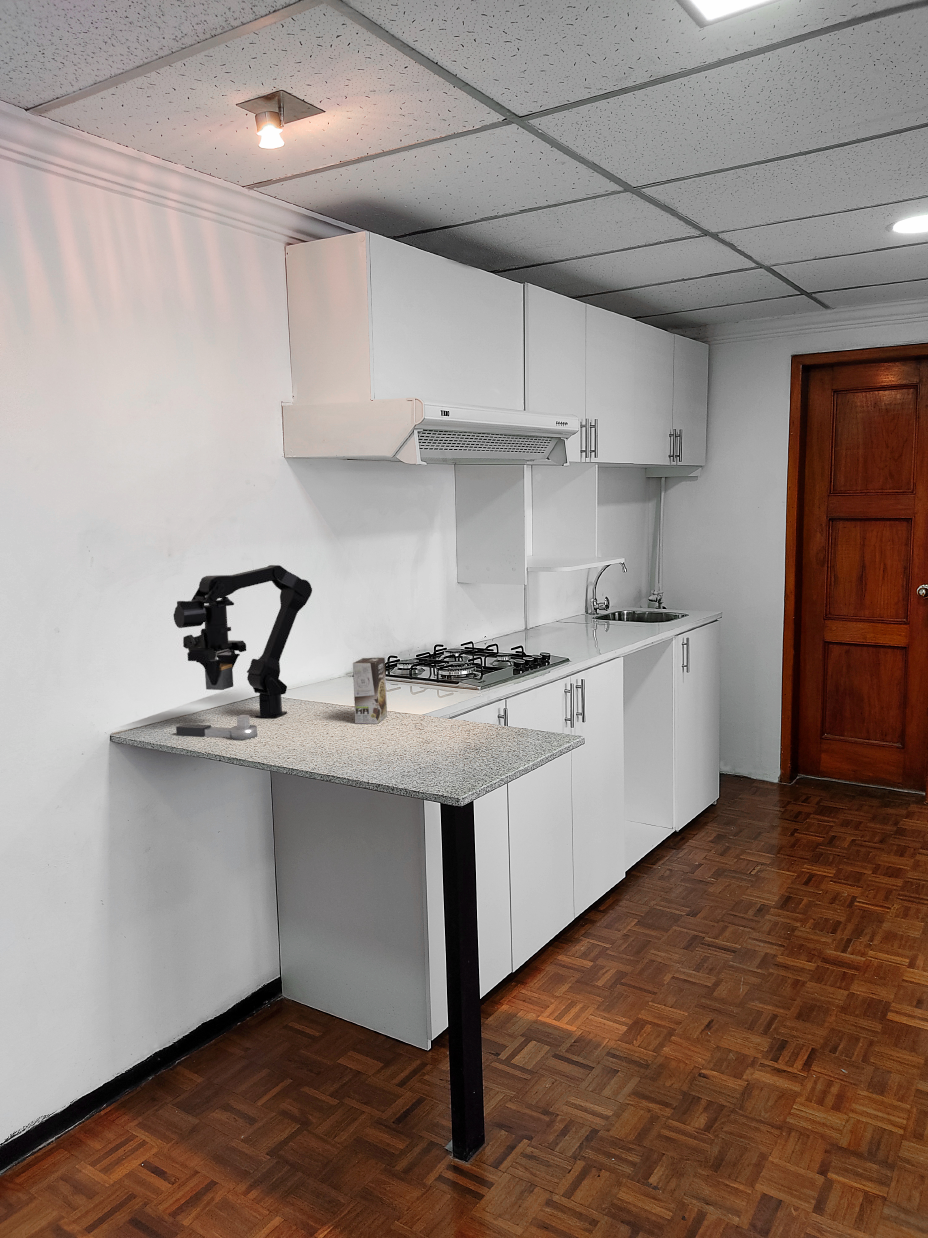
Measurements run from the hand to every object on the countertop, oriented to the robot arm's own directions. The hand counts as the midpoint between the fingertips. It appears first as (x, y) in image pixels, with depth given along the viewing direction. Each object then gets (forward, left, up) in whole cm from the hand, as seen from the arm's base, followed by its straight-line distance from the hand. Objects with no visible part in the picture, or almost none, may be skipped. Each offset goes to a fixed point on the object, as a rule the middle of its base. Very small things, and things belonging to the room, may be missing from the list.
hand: (219, 683), depth 242 cm
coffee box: (-13, +37, -12) cm, 41 cm away
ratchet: (+10, +5, -11) cm, 16 cm away
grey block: (0, 0, -1) cm, 1 cm away
